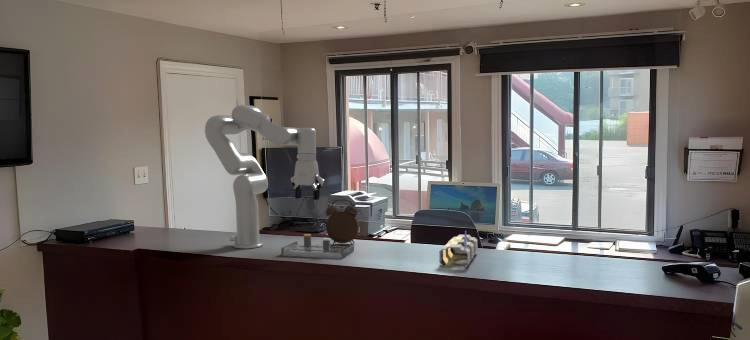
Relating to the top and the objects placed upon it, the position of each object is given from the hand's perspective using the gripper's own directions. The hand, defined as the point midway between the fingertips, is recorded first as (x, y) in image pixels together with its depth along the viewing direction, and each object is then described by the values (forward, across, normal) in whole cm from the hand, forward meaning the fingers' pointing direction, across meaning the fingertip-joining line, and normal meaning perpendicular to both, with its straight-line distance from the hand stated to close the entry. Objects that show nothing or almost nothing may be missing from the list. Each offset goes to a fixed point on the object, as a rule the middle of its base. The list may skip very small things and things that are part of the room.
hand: (307, 198), depth 229 cm
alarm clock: (+22, +6, +17) cm, 28 cm away
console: (+22, +8, -3) cm, 23 cm away
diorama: (+21, +63, +14) cm, 67 cm away
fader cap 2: (+19, +14, -5) cm, 24 cm away
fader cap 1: (+19, +1, -2) cm, 19 cm away
